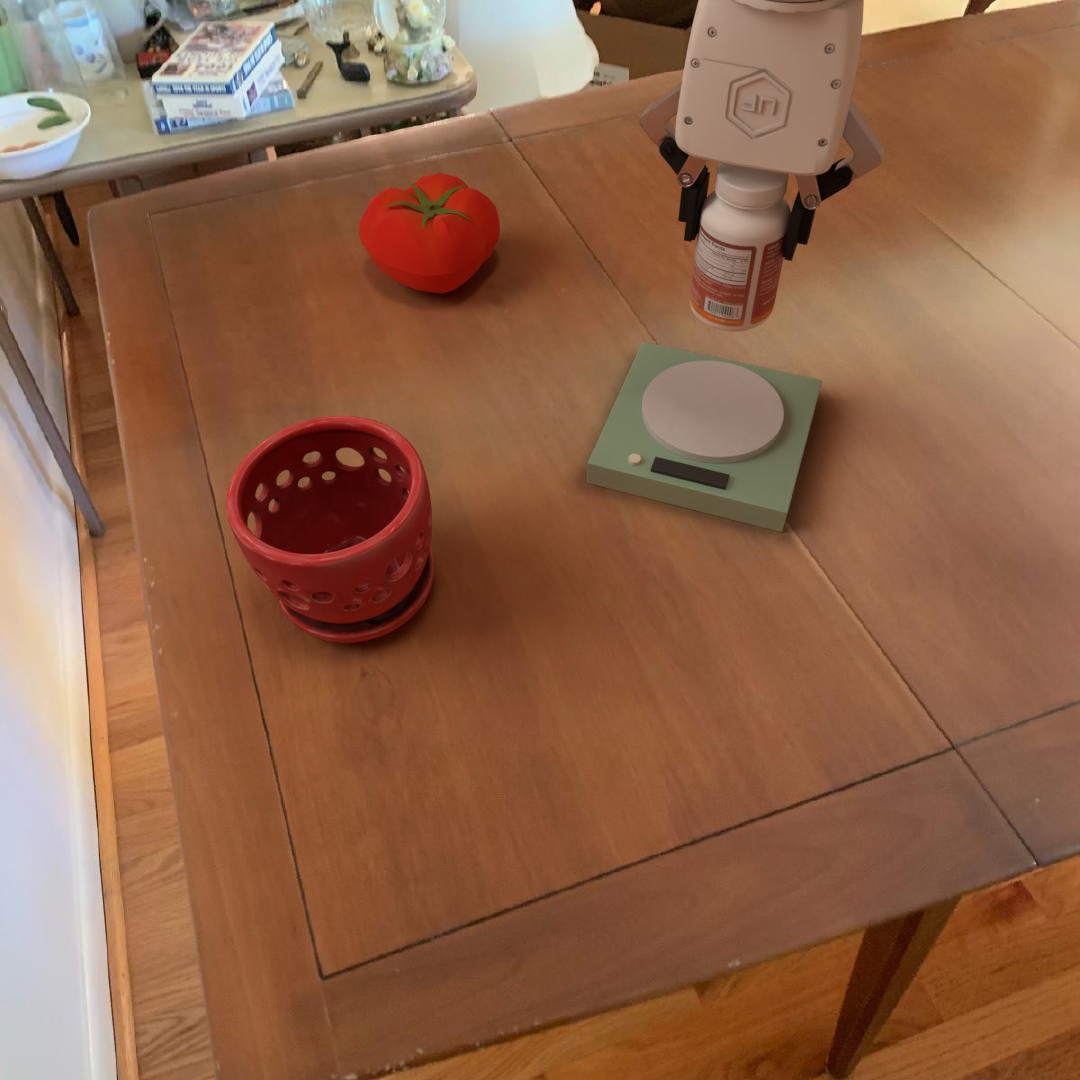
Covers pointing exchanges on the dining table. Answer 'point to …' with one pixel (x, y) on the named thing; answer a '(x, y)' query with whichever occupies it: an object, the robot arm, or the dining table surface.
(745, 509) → the scale
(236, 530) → the flower pot
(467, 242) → the tomato
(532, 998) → the dining table surface
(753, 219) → the pill bottle
